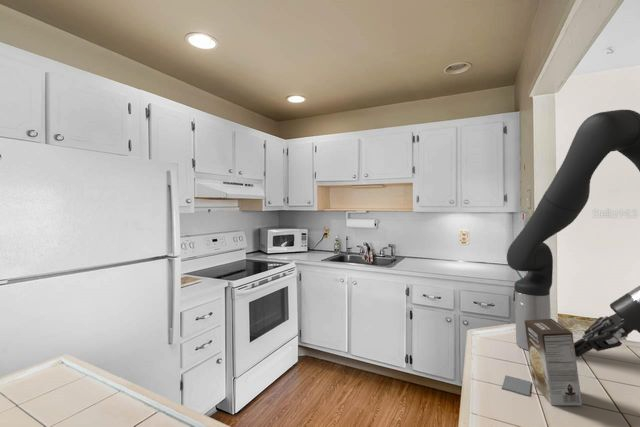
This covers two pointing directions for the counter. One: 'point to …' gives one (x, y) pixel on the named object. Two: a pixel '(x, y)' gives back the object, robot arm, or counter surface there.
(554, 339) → the coffee box
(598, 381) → the counter surface
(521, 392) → the mat
